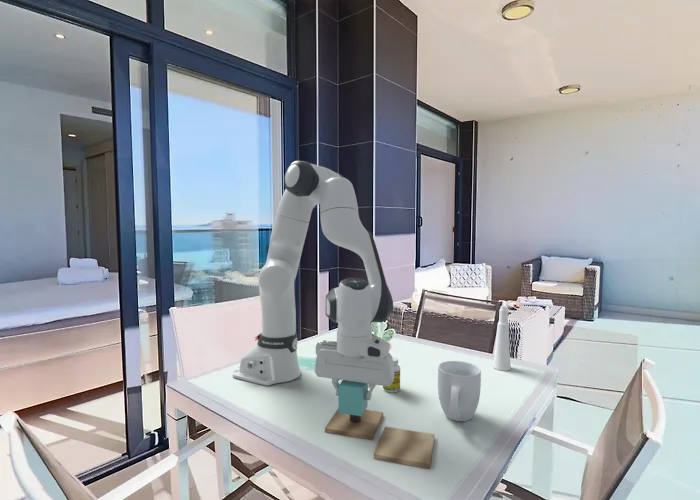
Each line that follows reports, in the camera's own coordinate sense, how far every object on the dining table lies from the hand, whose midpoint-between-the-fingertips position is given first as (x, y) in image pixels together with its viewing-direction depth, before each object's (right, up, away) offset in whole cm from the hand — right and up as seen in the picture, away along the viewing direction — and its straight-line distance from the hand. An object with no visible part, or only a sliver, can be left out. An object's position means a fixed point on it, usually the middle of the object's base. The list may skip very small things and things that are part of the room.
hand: (353, 397), depth 100 cm
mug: (+28, -7, +4) cm, 29 cm away
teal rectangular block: (0, -3, 0) cm, 3 cm away
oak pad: (+12, -8, -10) cm, 17 cm away
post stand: (0, -7, +1) cm, 7 cm away
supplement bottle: (+12, -6, +21) cm, 25 cm away
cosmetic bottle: (+53, -5, +39) cm, 66 cm away
